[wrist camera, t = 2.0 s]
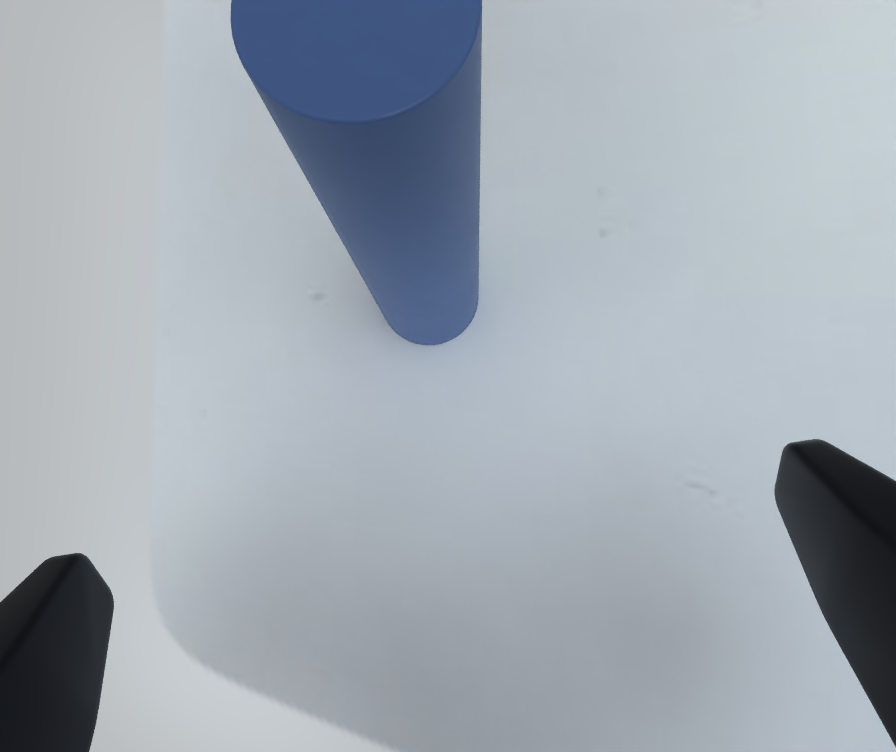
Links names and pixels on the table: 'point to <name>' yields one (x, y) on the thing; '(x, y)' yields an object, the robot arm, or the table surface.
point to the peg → (383, 139)
